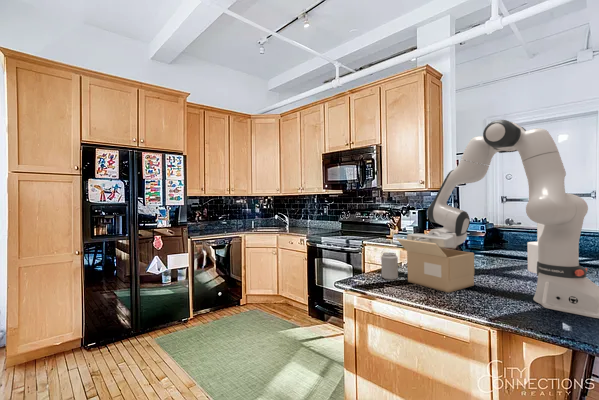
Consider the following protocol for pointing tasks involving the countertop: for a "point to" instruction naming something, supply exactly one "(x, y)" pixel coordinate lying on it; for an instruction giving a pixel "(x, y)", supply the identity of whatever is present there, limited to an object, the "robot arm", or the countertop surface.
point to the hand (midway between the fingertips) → (417, 241)
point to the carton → (441, 270)
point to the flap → (422, 247)
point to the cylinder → (534, 250)
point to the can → (389, 266)
